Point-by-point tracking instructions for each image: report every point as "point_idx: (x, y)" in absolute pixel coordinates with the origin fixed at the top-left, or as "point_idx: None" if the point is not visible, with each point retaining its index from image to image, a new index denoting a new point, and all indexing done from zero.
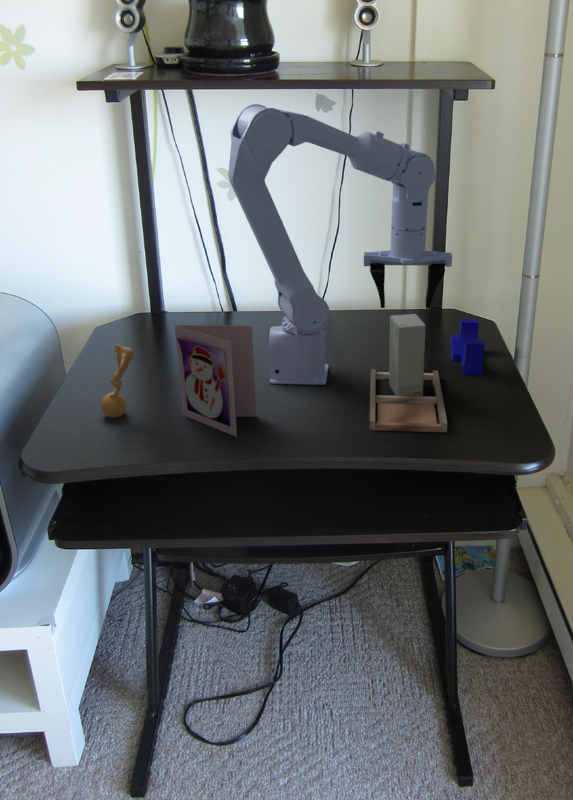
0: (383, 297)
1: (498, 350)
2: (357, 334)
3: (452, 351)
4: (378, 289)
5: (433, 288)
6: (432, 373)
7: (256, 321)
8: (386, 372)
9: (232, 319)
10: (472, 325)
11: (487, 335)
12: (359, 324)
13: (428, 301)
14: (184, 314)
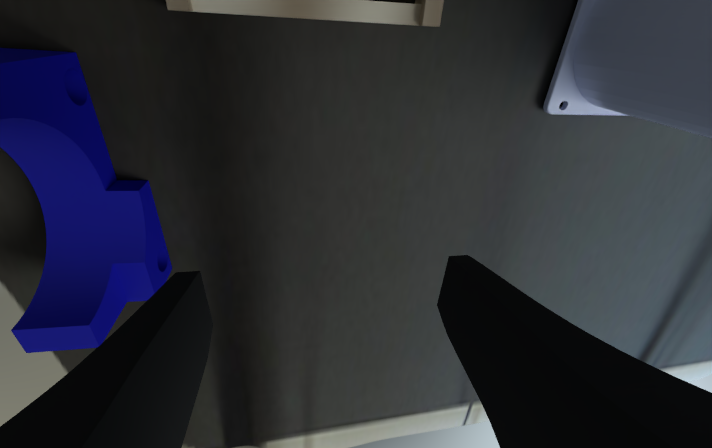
0: (496, 291)
1: (9, 272)
2: (418, 319)
3: (143, 211)
4: (575, 330)
5: (64, 397)
6: (193, 6)
7: None
8: (379, 19)
9: (641, 348)
10: (46, 318)
11: (79, 356)
12: (406, 364)
13: (167, 298)
14: (708, 354)
